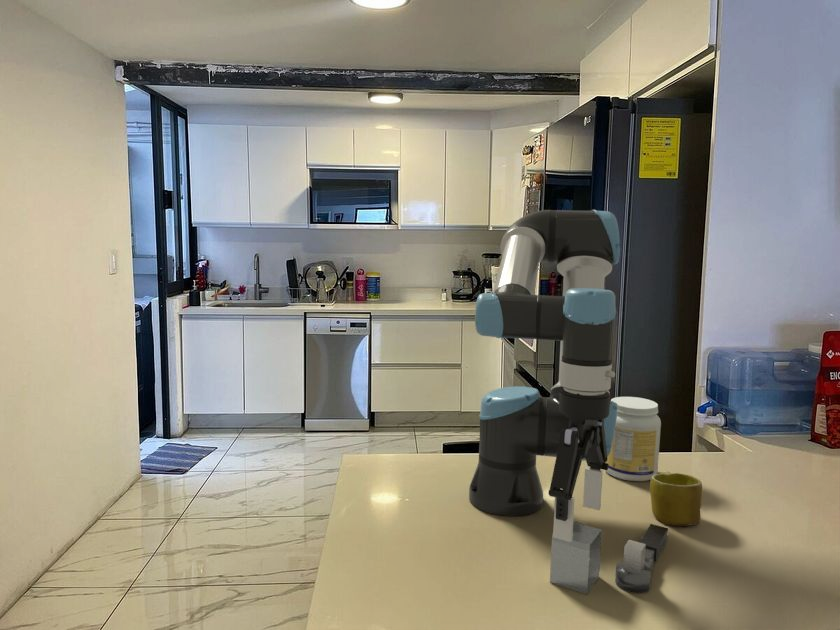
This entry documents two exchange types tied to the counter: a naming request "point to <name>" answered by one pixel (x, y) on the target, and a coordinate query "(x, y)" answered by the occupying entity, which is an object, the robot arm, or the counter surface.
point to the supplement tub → (635, 440)
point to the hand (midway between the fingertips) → (577, 522)
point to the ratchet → (640, 560)
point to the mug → (676, 498)
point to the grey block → (577, 559)
